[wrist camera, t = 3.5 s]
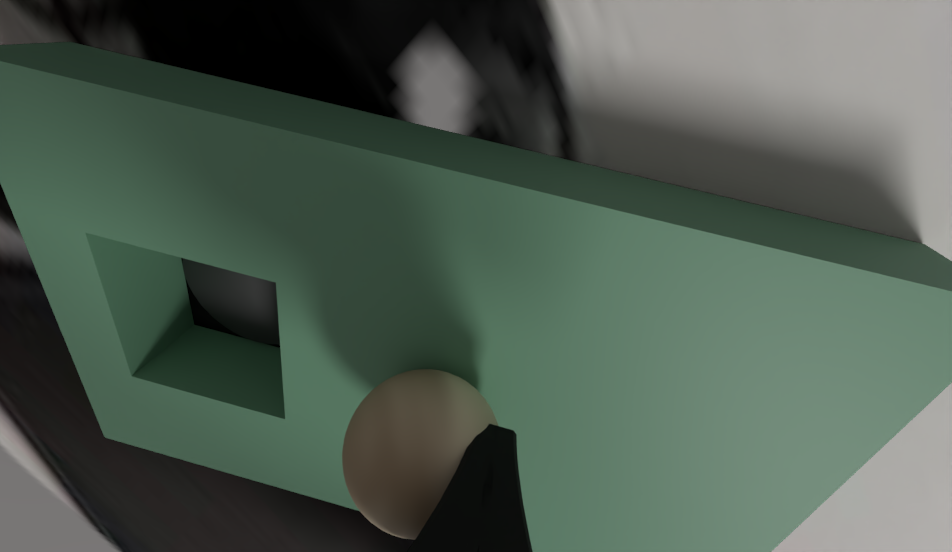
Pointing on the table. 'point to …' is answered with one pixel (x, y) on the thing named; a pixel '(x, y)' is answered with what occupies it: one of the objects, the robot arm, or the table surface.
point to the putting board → (457, 303)
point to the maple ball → (410, 446)
